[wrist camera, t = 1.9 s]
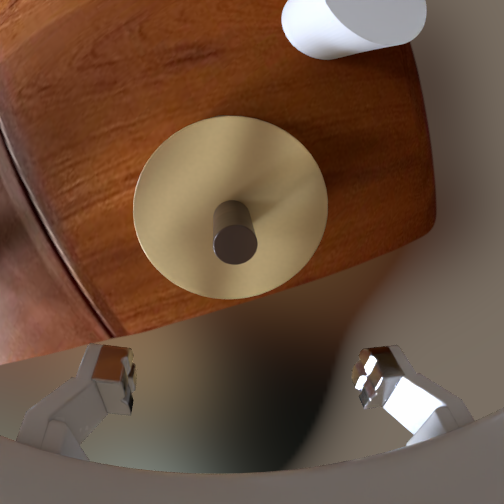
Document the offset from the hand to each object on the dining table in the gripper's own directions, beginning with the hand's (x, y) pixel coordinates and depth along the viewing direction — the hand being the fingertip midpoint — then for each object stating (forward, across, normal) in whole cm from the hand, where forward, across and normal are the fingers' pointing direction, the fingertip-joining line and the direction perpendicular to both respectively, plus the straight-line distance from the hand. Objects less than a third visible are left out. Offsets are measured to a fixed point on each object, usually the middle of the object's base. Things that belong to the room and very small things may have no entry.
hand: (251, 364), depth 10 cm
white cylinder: (+24, -8, -18) cm, 31 cm away
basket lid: (+14, 0, 0) cm, 14 cm away
